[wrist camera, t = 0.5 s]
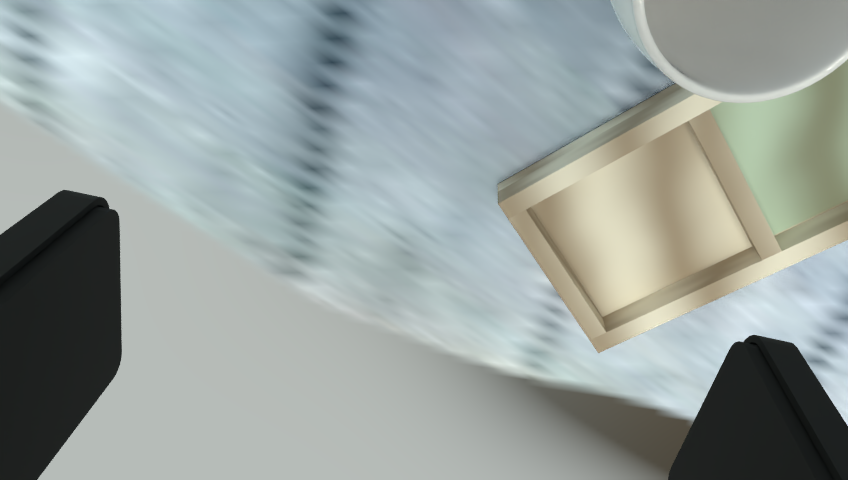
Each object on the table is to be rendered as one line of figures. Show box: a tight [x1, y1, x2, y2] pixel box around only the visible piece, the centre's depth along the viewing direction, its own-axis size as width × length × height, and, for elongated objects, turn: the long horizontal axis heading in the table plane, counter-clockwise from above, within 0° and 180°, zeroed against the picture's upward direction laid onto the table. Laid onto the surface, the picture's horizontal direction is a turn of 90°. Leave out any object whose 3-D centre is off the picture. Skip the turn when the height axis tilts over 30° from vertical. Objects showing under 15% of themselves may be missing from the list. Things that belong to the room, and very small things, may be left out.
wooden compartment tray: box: [498, 60, 848, 353], centre depth 33 cm, size 30×11×2 cm, turn 124°
